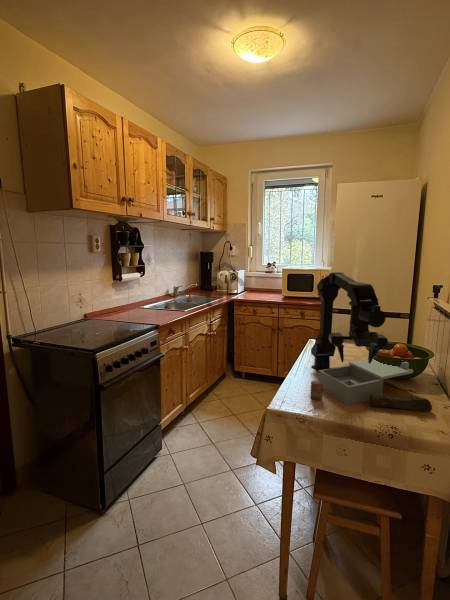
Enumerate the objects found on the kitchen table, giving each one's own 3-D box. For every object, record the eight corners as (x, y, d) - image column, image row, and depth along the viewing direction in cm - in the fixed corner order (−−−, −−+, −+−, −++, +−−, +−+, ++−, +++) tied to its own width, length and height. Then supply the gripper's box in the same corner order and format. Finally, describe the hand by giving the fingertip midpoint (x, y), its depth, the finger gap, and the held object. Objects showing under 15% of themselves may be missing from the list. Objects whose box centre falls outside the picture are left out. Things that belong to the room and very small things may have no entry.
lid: (348, 364, 129) (349, 356, 128) (378, 358, 134) (379, 351, 134) (381, 379, 114) (382, 371, 113) (413, 372, 120) (413, 364, 119)
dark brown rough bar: (370, 408, 108) (371, 396, 107) (368, 403, 111) (369, 390, 111) (433, 416, 103) (435, 403, 102) (429, 410, 106) (431, 397, 106)
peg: (308, 397, 115) (308, 381, 114) (317, 395, 117) (317, 379, 116) (315, 402, 112) (315, 386, 111) (324, 399, 113) (325, 384, 112)
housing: (317, 386, 124) (318, 370, 123) (349, 379, 130) (350, 364, 129) (347, 404, 110) (348, 387, 108) (381, 396, 115) (383, 379, 114)
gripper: (335, 324, 104) (332, 369, 106) (396, 326, 101) (392, 373, 104) (329, 317, 115) (327, 358, 117) (384, 318, 112) (380, 360, 115)
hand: (355, 362), depth 113 cm, fingers open, 9 cm apart
